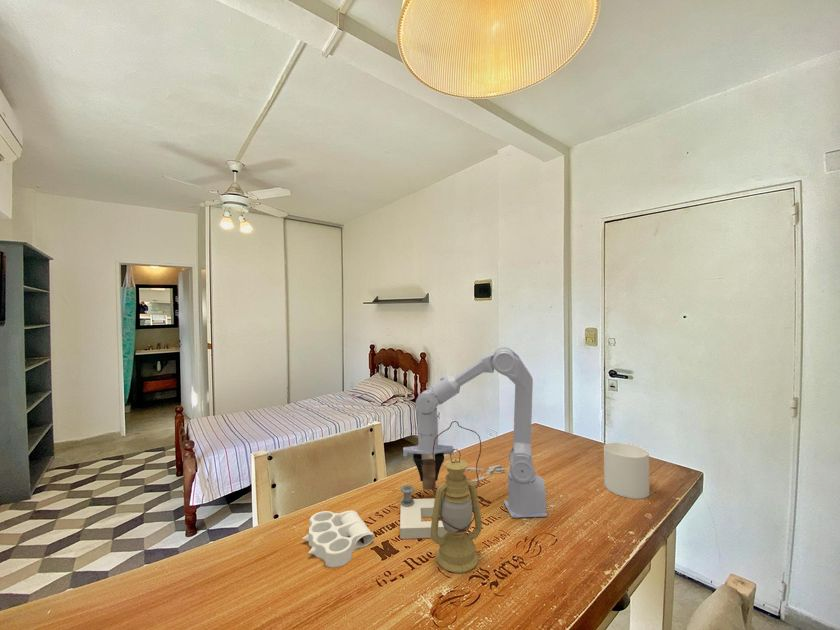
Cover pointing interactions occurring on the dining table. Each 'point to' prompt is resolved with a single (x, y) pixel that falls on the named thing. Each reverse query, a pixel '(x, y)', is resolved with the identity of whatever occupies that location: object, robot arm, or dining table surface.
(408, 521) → the slotted board
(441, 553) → the lantern
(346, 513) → the white holed flat piece
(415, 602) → the dining table surface
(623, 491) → the cup
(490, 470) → the pliers
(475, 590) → the dining table surface
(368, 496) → the dining table surface
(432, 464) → the block
